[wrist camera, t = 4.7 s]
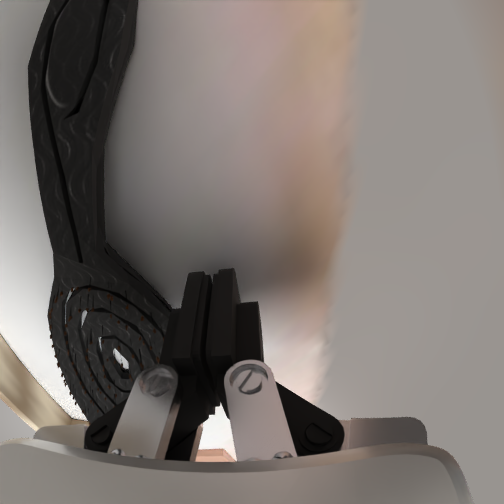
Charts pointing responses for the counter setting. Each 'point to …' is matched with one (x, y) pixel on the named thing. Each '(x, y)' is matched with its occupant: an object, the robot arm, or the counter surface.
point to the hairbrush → (88, 202)
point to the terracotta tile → (213, 456)
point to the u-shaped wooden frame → (28, 394)
